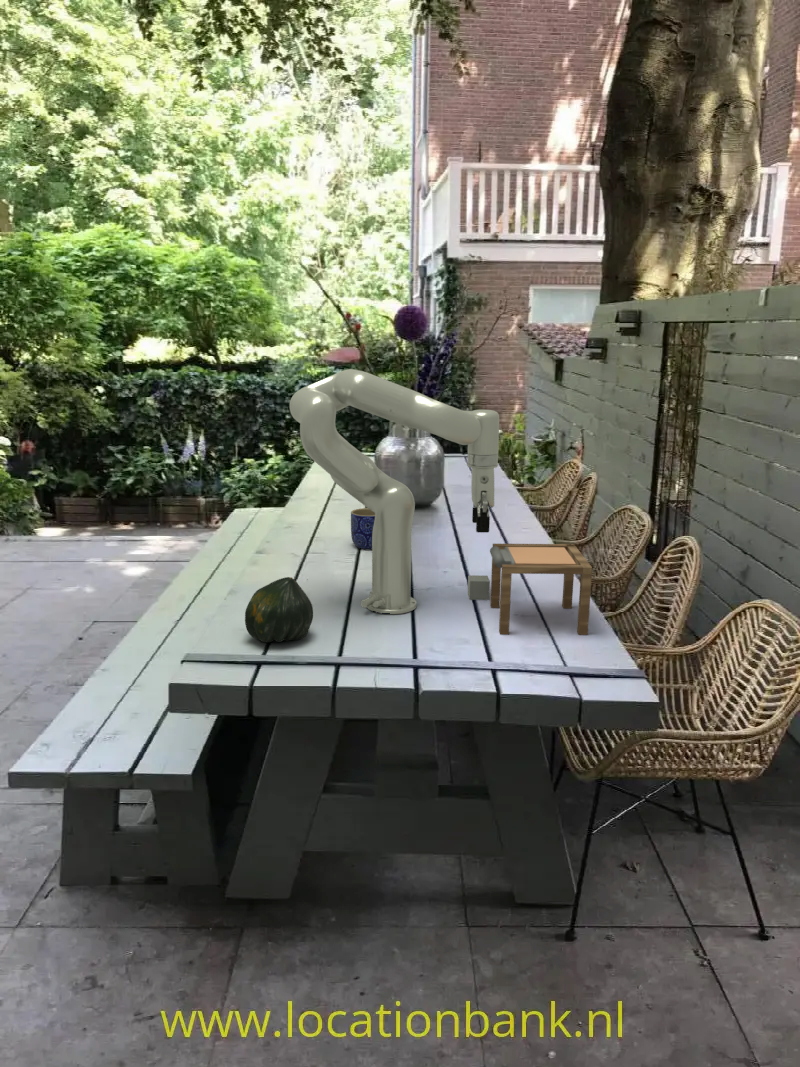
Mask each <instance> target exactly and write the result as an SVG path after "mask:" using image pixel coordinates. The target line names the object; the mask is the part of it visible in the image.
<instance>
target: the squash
mask: <svg viewBox="0 0 800 1067" xmlns="http://www.w3.org/2000/svg"><path fill="white" fill-rule="evenodd" d="M313 618H314V607H313V604H312V602H311V600H310V598H309V597H308V595H307V594H306V592H305V591H304V590H303V588H302V587H301V586H300V585H299V584H298V582H297V581H296V580H295V579H294V578H293V577H291V576H287V577H285V576H284V577H281V578H279V579H277V580H274V581H272V582H270V583H268V584H266V585H264V586H262V587H261V588H258V589H257V590H256V591H255V592H254V593H253V594H252V597H251V598H250V600H249V602H248V604H247V606H246V608H245V612H244V622H245V623H244V624H245V629H246V631H247V632H248V635H249V636H251V637H252V638H253V639H254V640H255V639H256V640H257V641H258V640H259V641H261V642H263V643H271V642H273V641H275V642H283V641H299V640H301V639H303V638H305V637H306V636H307V635H308V633H309V631H310V628H311V625H312V622H313Z"/></svg>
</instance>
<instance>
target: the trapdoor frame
mask: <svg viewBox="0 0 800 1067" xmlns="http://www.w3.org/2000/svg"><path fill="white" fill-rule="evenodd" d="M494 546H497V547H498V548H499V549H503V550H504V547H564V548H565V549H566V551H567V552H568V553H569V555H570V556H571V557H572V559H573V560H574V562H575V563H576V565H502V568H498V567H496V565H495V563H494V561H493V558H492V557H491V577H490V578H491V579H490V608H491V609H499V622H498V623H499V624H498V632H499V635H509V634H510V615H511V613H510V612H511V594H512V593H511V592H512V575H513V574H514V575H515V574H516V575H517V574H520V575H521V574H522V575H523V574H524V575H525V574H526V575H527V574H528V575H534V574H535V575H537V574H538V575H563V584H562V585H563V586H562V599H561V600H562V602H561V607H562V608H563V609H569V610H570V609H572V608H573V593H574V579H575V575H580V580H579V583H580V584H579V594H578V595H579V596H578V597H579V598H578V612H577V628H576V632H577V634H578V636H589V634H588V632H589V618H590V608H591V607H590V605H591V604H590V603H591V590H592V580H593V579H592V577H593V576H592V575H593V567H592V565H591V564H590V562H589V561H588V560H587V559H586V557H584V555H583V554H582V552H581V551H580V550H579V549H578V547H577V546H576V545H575V544H574V543H492V547H494Z"/></svg>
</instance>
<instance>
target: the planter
mask: <svg viewBox="0 0 800 1067" xmlns="http://www.w3.org/2000/svg"><path fill="white" fill-rule="evenodd" d="M374 521H375V513H374V512H373V511H371V510H370V509H369V508H367V507H363V508H356V509H352V511H350V534H351V542H352V544H354V546H355V547H357V548H358V549H360V548H362V549H361V550H366V549H371V550H372V533H373V526H374Z"/></svg>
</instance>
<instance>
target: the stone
mask: <svg viewBox="0 0 800 1067" xmlns="http://www.w3.org/2000/svg"><path fill="white" fill-rule="evenodd" d="M490 588H491V580H490V578H489V575H479V574H478V575H475V574H474V575H471V574H470V575H468V576H467V595H468V600H470V601H471V600H472V601H489V600H490Z"/></svg>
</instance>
